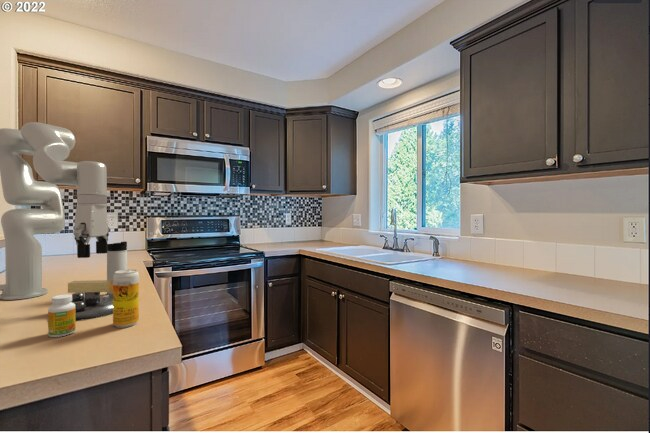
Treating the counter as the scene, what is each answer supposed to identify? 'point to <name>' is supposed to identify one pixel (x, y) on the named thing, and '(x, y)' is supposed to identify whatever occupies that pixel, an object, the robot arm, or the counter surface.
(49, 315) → the supplement bottle
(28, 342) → the counter surface
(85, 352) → the counter surface
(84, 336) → the counter surface
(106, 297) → the base
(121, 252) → the travel mug
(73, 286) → the orange-tipped wooden plank
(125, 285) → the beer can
